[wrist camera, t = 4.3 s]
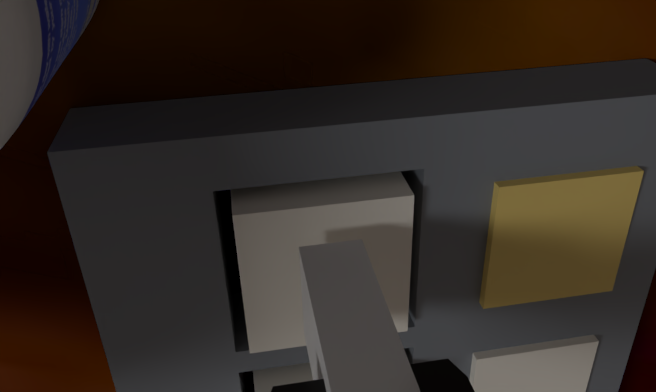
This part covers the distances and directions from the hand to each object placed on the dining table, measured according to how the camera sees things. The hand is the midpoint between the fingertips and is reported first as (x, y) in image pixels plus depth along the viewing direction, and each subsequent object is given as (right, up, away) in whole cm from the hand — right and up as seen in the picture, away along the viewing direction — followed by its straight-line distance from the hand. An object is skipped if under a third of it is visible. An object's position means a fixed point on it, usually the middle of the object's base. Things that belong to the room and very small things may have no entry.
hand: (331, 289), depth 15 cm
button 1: (-1, +1, +3) cm, 3 cm away
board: (+2, -6, +8) cm, 10 cm away
